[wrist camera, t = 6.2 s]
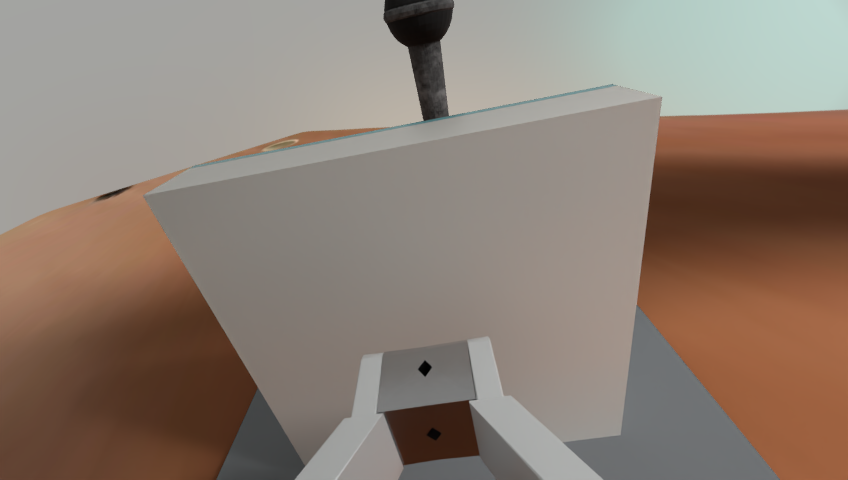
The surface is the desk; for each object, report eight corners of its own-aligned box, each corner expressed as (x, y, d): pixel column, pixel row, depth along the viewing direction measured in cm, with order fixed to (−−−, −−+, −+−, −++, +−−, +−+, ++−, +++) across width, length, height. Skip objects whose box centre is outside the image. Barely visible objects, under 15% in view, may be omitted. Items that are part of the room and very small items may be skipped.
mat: (803, 526, 11) (809, 515, 11) (178, 590, 12) (169, 583, 12) (575, 237, 27) (576, 230, 26) (311, 281, 28) (309, 274, 28)
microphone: (413, 172, 46) (374, -18, 37) (466, 160, 46) (441, -31, 37) (421, 191, 40) (376, -30, 31) (481, 177, 40) (456, -47, 31)
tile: (620, 435, 14) (662, 97, 8) (309, 473, 15) (142, 195, 9) (594, 383, 16) (612, 84, 10) (322, 420, 17) (194, 165, 11)
